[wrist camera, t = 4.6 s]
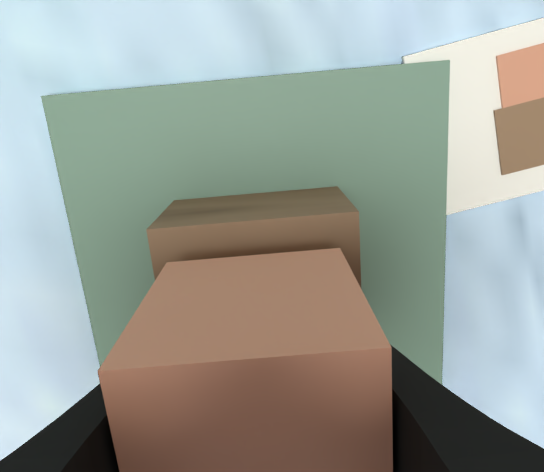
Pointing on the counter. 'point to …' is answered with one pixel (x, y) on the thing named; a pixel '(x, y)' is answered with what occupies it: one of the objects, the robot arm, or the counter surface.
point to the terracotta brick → (252, 370)
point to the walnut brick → (256, 226)
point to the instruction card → (494, 115)
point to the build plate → (265, 178)
